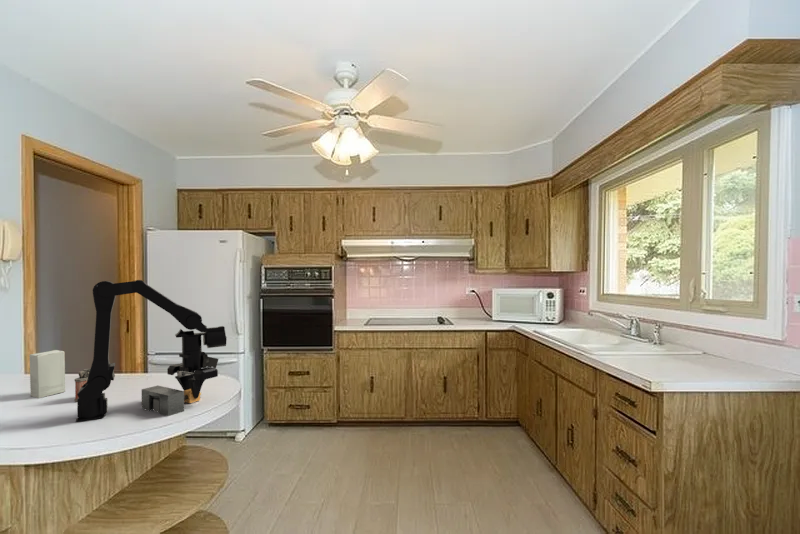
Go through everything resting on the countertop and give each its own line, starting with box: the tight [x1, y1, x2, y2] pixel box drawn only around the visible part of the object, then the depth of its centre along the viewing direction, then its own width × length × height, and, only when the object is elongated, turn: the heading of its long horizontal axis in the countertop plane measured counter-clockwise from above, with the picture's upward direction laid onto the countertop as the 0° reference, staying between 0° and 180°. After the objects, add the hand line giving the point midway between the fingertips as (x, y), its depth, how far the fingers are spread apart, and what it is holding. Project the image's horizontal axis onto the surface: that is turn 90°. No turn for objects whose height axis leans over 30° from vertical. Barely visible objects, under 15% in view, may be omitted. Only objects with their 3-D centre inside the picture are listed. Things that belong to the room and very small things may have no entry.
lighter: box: [74, 367, 91, 403], centre depth 142 cm, size 8×3×10 cm, turn 168°
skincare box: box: [29, 349, 66, 399], centre depth 148 cm, size 8×6×15 cm
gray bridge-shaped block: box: [141, 385, 185, 417], centre depth 128 cm, size 5×14×6 cm, turn 60°
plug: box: [153, 389, 202, 413], centre depth 133 cm, size 14×3×4 cm, turn 149°
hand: (192, 397), depth 137 cm, fingers closed on plug, 3 cm apart
